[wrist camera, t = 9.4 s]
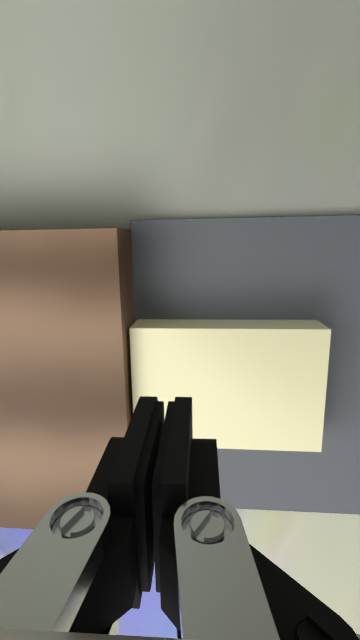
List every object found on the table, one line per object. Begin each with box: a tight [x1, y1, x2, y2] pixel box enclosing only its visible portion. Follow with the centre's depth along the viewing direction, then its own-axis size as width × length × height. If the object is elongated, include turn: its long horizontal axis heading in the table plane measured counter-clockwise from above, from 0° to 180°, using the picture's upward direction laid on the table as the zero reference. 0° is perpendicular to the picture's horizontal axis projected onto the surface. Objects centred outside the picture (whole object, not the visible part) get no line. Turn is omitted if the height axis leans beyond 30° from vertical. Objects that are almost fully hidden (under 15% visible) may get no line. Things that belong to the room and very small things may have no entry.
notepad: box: [129, 319, 331, 452], centre depth 17 cm, size 6×9×2 cm, turn 91°
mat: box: [131, 215, 360, 514], centre depth 18 cm, size 16×14×1 cm
